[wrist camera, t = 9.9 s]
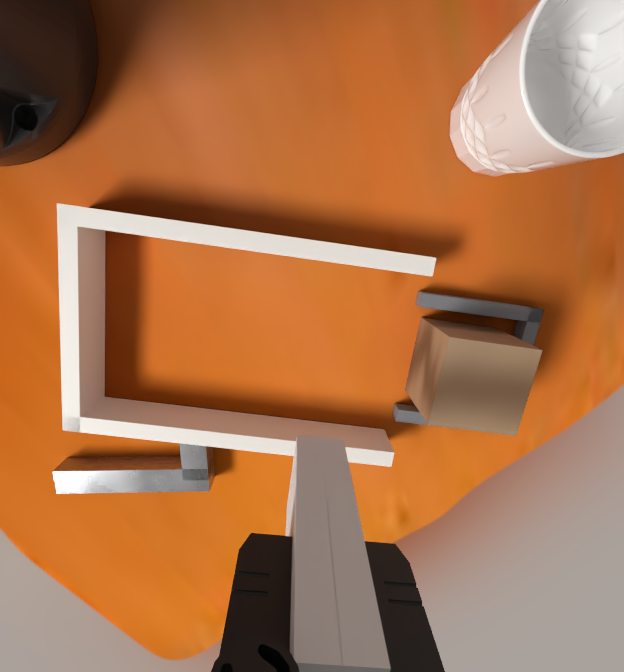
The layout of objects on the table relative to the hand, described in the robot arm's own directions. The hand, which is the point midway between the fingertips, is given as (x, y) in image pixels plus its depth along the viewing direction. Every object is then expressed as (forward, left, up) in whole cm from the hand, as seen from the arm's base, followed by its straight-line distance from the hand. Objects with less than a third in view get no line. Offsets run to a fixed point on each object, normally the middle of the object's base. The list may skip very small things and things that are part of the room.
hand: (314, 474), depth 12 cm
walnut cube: (0, +11, -18) cm, 21 cm away
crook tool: (+12, -12, -18) cm, 25 cm away
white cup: (-16, +11, -18) cm, 27 cm away
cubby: (+1, -4, -18) cm, 18 cm away
